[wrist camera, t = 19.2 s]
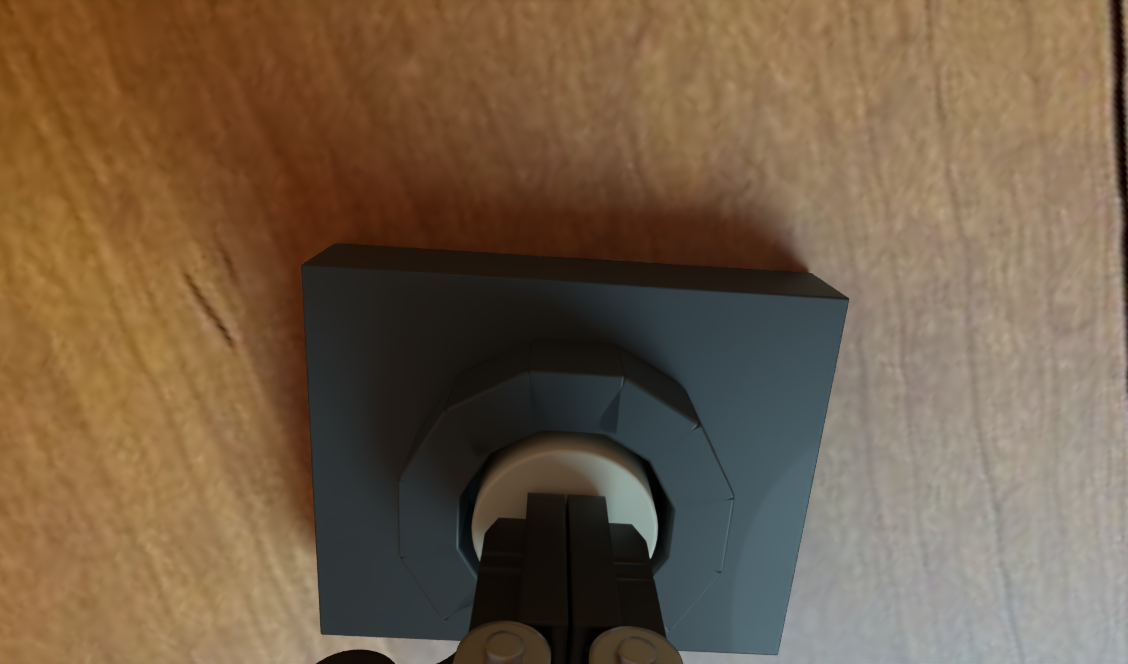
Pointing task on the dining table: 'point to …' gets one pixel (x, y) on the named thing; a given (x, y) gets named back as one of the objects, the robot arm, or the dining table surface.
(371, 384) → the block
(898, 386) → the dining table surface
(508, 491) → the bell button
